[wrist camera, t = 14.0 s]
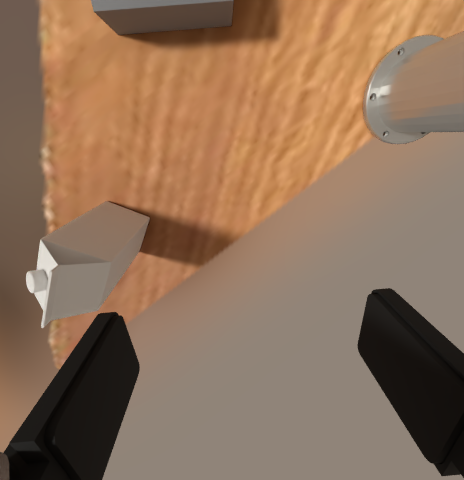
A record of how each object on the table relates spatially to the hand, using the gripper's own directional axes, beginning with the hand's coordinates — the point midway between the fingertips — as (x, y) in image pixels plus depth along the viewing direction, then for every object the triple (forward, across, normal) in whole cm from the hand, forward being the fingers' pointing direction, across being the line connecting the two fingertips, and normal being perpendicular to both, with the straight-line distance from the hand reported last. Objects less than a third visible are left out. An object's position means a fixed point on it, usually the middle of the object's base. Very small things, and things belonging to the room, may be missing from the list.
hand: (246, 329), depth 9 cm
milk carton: (+31, +18, +6) cm, 36 cm away
